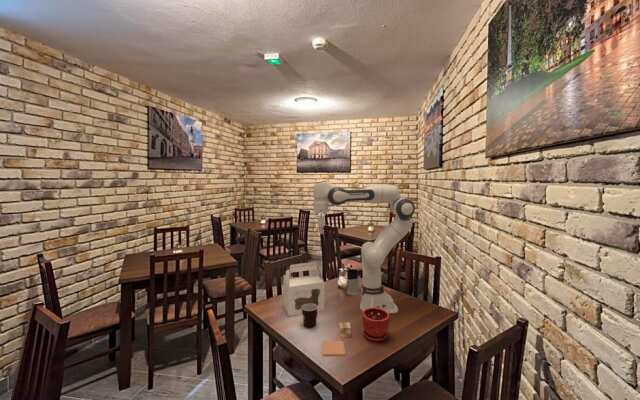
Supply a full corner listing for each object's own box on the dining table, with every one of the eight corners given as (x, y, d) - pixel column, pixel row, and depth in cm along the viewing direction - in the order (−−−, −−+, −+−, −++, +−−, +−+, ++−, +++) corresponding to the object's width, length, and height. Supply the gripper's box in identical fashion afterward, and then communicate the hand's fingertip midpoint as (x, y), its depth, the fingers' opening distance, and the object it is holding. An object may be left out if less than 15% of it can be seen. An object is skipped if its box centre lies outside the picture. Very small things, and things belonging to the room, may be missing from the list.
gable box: (288, 316, 161) (287, 268, 159) (283, 307, 174) (282, 262, 171) (324, 310, 169) (324, 264, 167) (317, 301, 181) (317, 258, 179)
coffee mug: (302, 321, 156) (302, 303, 156) (318, 321, 156) (318, 303, 155) (300, 332, 145) (300, 313, 144) (317, 332, 144) (317, 313, 144)
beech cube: (349, 332, 145) (349, 322, 145) (350, 337, 140) (350, 327, 140) (339, 332, 145) (339, 322, 145) (340, 337, 140) (340, 327, 140)
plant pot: (356, 336, 141) (356, 313, 140) (372, 326, 150) (372, 304, 149) (379, 347, 132) (379, 322, 131) (394, 336, 141) (394, 313, 140)
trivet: (343, 342, 136) (343, 341, 136) (345, 355, 126) (345, 354, 126) (322, 342, 135) (322, 341, 135) (322, 355, 125) (322, 354, 125)
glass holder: (360, 294, 191) (360, 273, 190) (339, 294, 191) (339, 273, 190) (358, 289, 200) (358, 268, 199) (338, 289, 200) (338, 269, 199)
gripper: (327, 211, 155) (327, 235, 156) (325, 207, 176) (326, 229, 177) (315, 211, 155) (315, 236, 156) (315, 207, 176) (315, 229, 177)
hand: (321, 232), depth 167 cm, fingers open, 8 cm apart
